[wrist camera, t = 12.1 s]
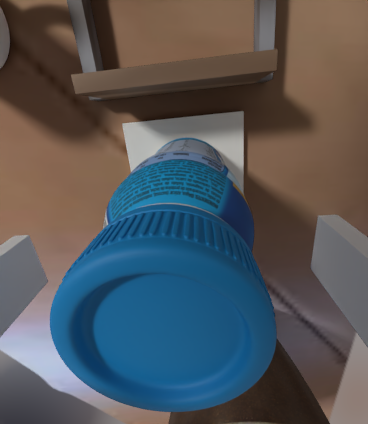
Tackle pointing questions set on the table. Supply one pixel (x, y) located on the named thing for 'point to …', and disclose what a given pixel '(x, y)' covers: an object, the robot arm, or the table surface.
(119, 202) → the beverage bottle
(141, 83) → the rack
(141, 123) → the coaster
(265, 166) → the table surface
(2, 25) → the mug
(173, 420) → the plant pot
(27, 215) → the table surface
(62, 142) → the table surface
